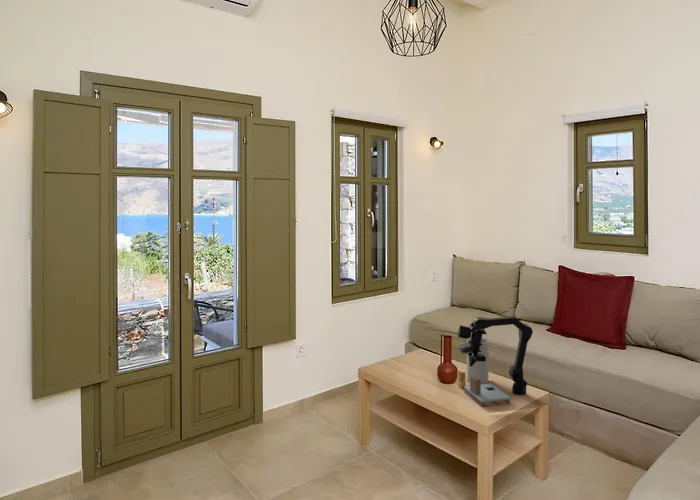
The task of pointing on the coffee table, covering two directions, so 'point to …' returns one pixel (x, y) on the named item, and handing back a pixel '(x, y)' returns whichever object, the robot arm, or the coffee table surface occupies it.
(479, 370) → the cylinder vase
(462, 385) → the golden wooden block
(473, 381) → the grey plate with hole
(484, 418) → the coffee table surface
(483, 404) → the brown open tray
